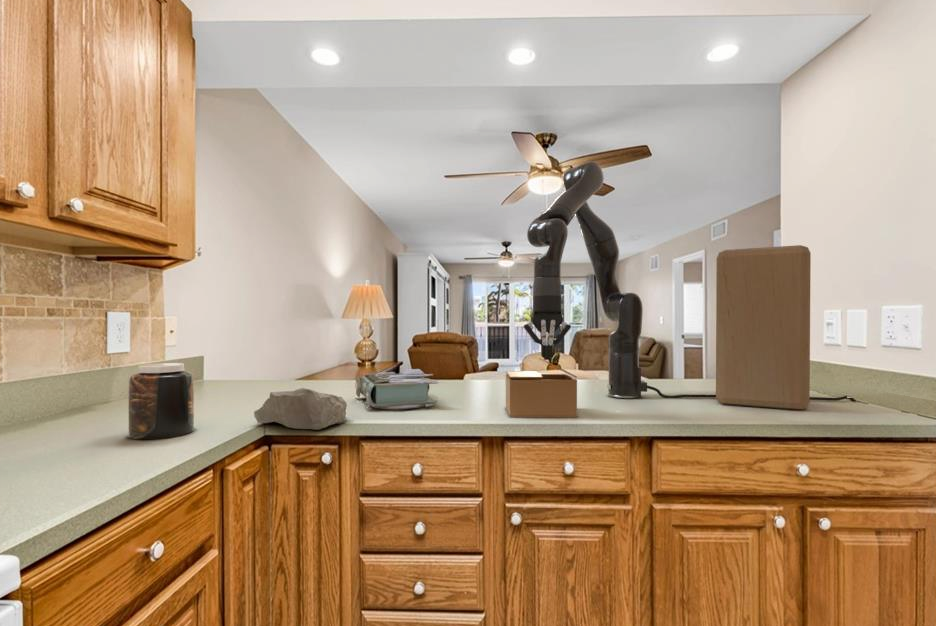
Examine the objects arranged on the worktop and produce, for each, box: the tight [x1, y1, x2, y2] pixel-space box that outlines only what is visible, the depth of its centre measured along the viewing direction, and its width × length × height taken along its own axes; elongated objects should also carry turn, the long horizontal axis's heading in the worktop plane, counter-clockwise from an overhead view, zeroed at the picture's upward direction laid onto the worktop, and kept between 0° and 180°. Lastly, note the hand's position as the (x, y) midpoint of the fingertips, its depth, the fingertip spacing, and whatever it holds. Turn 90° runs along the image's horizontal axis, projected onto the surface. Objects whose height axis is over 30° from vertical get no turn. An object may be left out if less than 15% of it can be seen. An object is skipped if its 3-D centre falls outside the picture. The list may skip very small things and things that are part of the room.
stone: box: [253, 387, 348, 431], centre depth 115 cm, size 18×10×20 cm
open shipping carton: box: [505, 370, 578, 418], centre depth 129 cm, size 17×13×10 cm
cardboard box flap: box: [539, 357, 578, 379], centre depth 129 cm, size 8×13×1 cm, turn 0°
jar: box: [128, 362, 195, 440], centre depth 105 cm, size 12×12×15 cm
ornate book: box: [354, 368, 446, 410], centre depth 144 cm, size 23×10×30 cm
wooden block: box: [715, 244, 812, 411], centre depth 144 cm, size 22×22×45 cm
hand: (546, 359), depth 129 cm, fingers closed
